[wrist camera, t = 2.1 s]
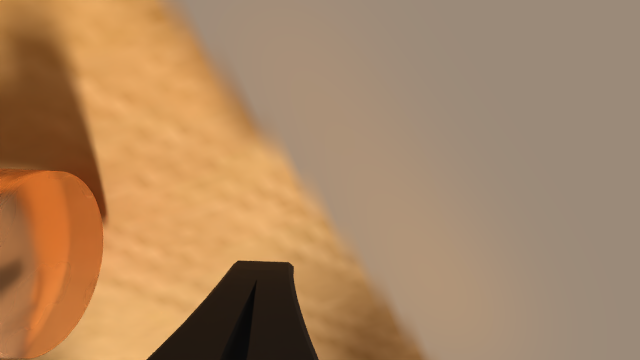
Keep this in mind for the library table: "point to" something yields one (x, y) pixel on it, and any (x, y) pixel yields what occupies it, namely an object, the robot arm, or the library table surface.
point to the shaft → (45, 258)
